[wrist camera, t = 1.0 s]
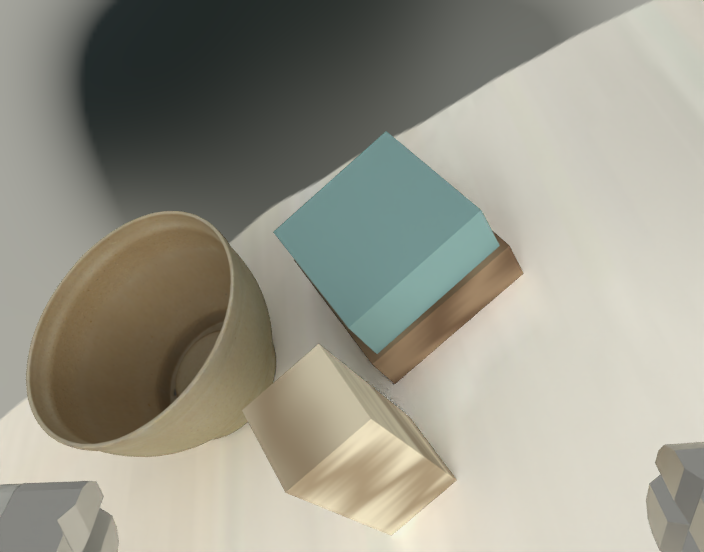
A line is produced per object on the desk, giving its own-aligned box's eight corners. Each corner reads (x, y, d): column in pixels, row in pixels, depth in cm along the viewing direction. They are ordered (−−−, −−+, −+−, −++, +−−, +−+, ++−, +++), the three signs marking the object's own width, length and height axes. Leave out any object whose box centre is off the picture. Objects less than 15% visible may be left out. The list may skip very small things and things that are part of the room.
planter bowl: (204, 539, 44) (80, 508, 35) (110, 397, 54) (-3, 347, 45) (362, 355, 45) (279, 283, 36) (241, 250, 55) (155, 175, 47)
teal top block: (408, 166, 46) (386, 131, 43) (499, 245, 40) (481, 210, 37) (302, 261, 47) (273, 232, 43) (377, 354, 40) (348, 327, 37)
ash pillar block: (409, 417, 41) (318, 343, 32) (456, 480, 38) (370, 418, 29) (349, 468, 41) (241, 410, 32) (391, 535, 38) (285, 492, 29)
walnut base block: (429, 190, 50) (410, 158, 47) (524, 276, 43) (509, 245, 40) (320, 285, 50) (293, 259, 47) (397, 386, 43) (372, 364, 40)
